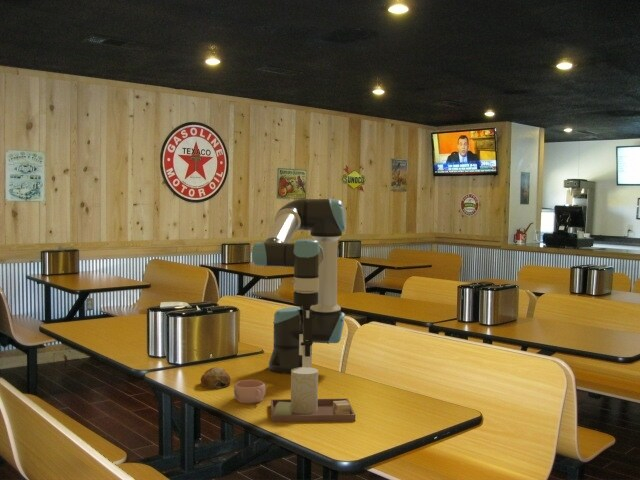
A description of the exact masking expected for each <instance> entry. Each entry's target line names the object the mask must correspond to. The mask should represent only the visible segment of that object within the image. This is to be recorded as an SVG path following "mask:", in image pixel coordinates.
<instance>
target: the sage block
mask: <svg viewBox="0 0 640 480" xmlns="http://www.w3.org/2000/svg"><path fill="white" fill-rule="evenodd" d="M275 415H292V402H278V403H277V404H276V414H275Z"/></svg>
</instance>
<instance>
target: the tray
mask: <svg viewBox="0 0 640 480" xmlns="http://www.w3.org/2000/svg"><path fill="white" fill-rule="evenodd" d="M344 400H346V401H347V402H348V403H349V404H350V414H333V401H344ZM278 402H291V398H289V399H288V398H284V399H281V398H280V399H279V398H278V399H274V398H273V399H272V398H271V399H270V413H271V415H270V417H271V423H311V422H312V423H318V422H319V423H321V422H322V423H323V422H328V423H330V422H356V413H355V411H354V409H353V406H352V404H351V402H350V400H349V398H318V407H317V411H316V412H314V413H310V414H299V413H294V412H292V415H275V414H276V404H277V403H278Z"/></svg>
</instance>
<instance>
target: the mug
mask: <svg viewBox="0 0 640 480" xmlns="http://www.w3.org/2000/svg"><path fill="white" fill-rule="evenodd" d="M266 390H267V389H266V384H265V382H263V381H262V380H257V379H244V380H243V379H242V380H238V381H237V382H235V383H234V386H233V393H234V397H235V400H236V401H237V402H238V403H241V404H247V405H248V404H257V403H261V402H262V401H263V400H264V396H265V395H266Z"/></svg>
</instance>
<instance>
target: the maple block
mask: <svg viewBox="0 0 640 480" xmlns="http://www.w3.org/2000/svg"><path fill="white" fill-rule="evenodd" d="M350 404H351V403H350ZM350 404H349V403H348V402H347V401H346V400H344V401H333V414H350Z"/></svg>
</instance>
